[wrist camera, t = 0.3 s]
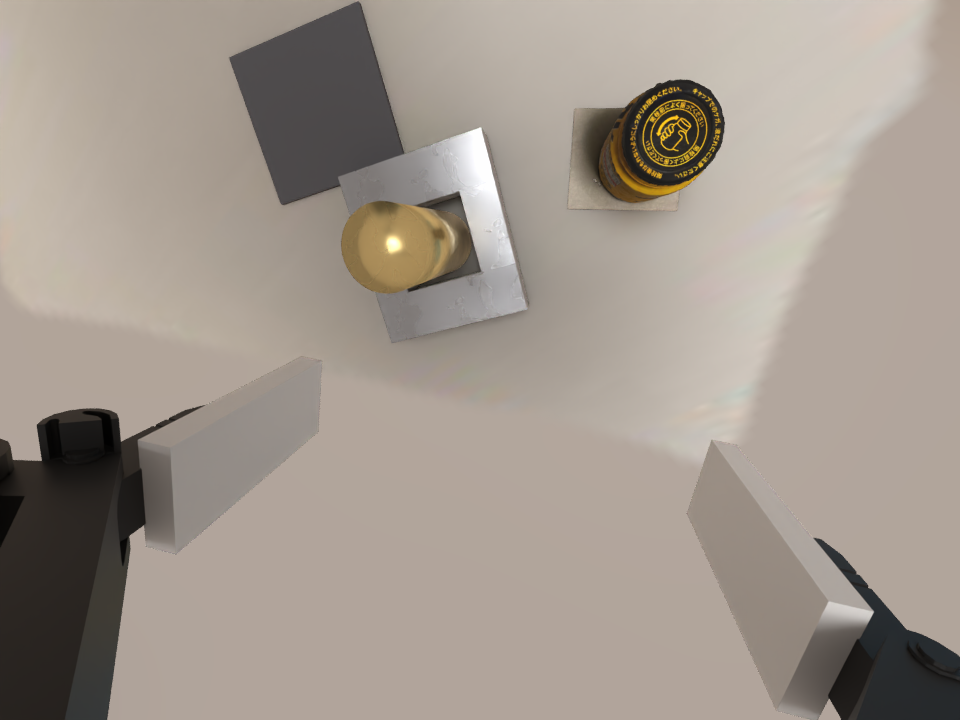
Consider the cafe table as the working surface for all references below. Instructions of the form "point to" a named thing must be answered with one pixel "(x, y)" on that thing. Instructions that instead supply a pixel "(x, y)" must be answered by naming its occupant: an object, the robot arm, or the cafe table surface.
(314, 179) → the mat
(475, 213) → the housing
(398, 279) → the gold rounded cylinder
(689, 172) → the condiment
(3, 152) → the cafe table surface
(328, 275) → the cafe table surface
